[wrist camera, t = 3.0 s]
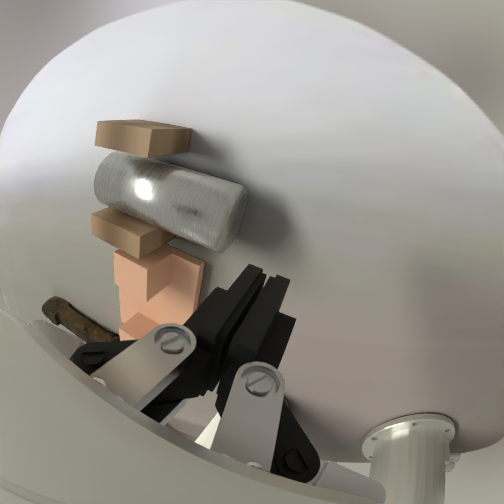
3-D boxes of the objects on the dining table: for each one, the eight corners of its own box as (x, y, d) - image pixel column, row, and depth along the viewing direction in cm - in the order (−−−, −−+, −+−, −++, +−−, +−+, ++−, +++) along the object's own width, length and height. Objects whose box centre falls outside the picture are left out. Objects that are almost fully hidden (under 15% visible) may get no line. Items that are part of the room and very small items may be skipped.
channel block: (191, 128, 20) (151, 129, 16) (174, 238, 25) (139, 259, 21) (138, 119, 22) (97, 121, 17) (128, 218, 26) (92, 234, 22)
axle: (252, 177, 20) (220, 199, 16) (241, 234, 23) (211, 265, 19) (133, 145, 23) (92, 159, 19) (133, 193, 26) (96, 213, 22)
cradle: (205, 261, 25) (177, 284, 21) (190, 354, 31) (170, 379, 27) (124, 225, 27) (93, 240, 23) (126, 317, 33) (103, 335, 29)
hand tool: (125, 333, 35) (104, 352, 31) (128, 352, 37) (109, 370, 33) (53, 283, 40) (34, 294, 36) (57, 300, 41) (39, 312, 37)
